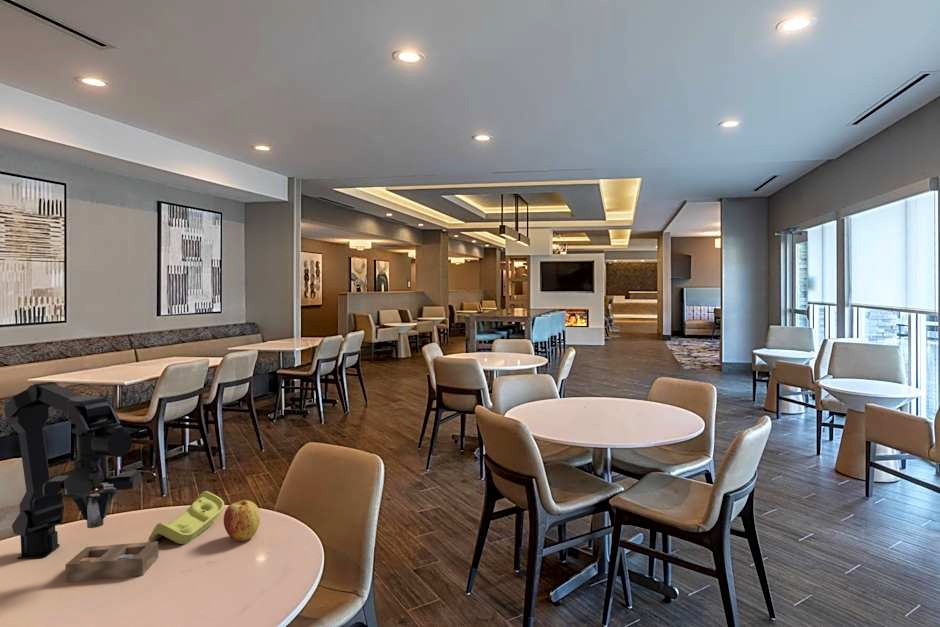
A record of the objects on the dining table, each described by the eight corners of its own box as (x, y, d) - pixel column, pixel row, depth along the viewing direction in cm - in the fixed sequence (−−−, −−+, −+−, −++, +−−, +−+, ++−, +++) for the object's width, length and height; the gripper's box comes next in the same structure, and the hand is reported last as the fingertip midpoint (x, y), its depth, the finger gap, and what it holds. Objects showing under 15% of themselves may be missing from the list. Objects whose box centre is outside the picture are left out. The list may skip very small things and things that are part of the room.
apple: (228, 533, 150) (227, 496, 150) (263, 529, 152) (262, 493, 152) (221, 547, 141) (220, 508, 141) (259, 543, 143) (257, 505, 143)
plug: (84, 528, 129) (83, 498, 128) (91, 523, 132) (90, 493, 132) (99, 527, 129) (98, 497, 129) (106, 522, 132) (105, 492, 132)
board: (65, 582, 125) (65, 563, 125) (86, 563, 134) (86, 545, 134) (142, 575, 128) (142, 556, 128) (158, 557, 137) (157, 540, 137)
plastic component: (188, 537, 143) (154, 519, 143) (178, 561, 144) (145, 544, 145) (231, 503, 162) (201, 487, 163) (222, 524, 163) (192, 509, 164)
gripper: (26, 465, 120) (29, 537, 121) (120, 459, 124) (123, 529, 124) (55, 451, 131) (58, 517, 132) (141, 446, 135) (143, 510, 135)
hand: (95, 518), depth 130 cm, fingers closed on plug, 3 cm apart
